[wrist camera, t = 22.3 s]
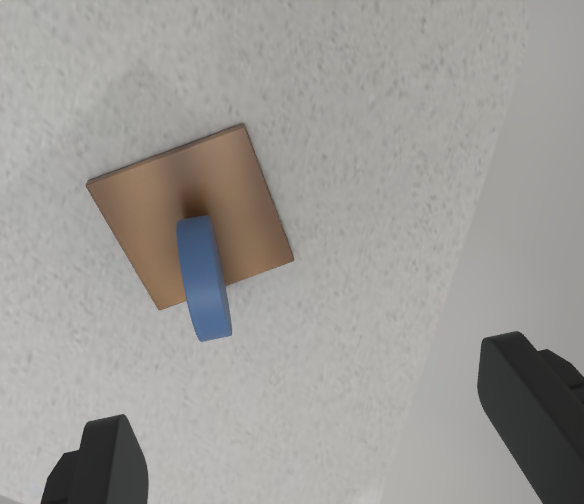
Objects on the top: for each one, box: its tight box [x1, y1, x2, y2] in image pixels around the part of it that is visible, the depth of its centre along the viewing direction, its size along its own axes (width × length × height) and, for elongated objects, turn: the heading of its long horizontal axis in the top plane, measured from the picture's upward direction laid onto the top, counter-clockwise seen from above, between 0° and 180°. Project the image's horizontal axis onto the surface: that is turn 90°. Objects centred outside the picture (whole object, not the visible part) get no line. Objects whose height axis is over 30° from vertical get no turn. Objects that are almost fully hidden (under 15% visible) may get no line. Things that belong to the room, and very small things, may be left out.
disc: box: [176, 215, 232, 342], centre depth 33 cm, size 2×8×8 cm
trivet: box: [86, 124, 294, 310], centre depth 36 cm, size 11×11×1 cm
